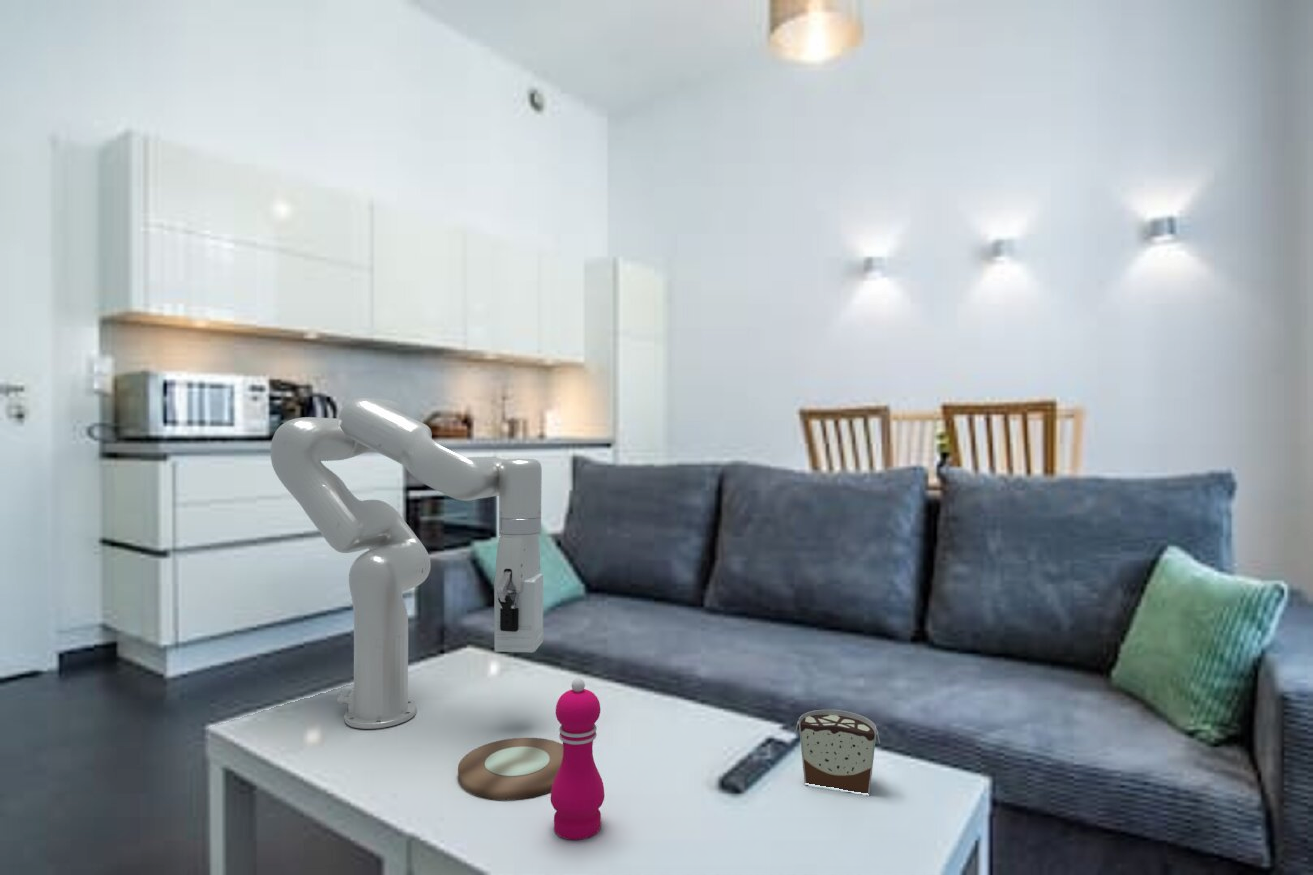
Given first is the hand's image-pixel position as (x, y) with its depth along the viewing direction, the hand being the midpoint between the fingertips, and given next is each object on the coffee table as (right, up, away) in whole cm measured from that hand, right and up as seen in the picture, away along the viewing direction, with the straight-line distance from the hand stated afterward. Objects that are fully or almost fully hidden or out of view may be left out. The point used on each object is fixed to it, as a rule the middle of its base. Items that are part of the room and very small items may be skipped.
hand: (519, 623), depth 128 cm
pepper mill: (+14, -19, -32) cm, 40 cm away
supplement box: (0, -4, 0) cm, 4 cm away
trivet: (+3, -19, -16) cm, 25 cm away
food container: (+53, -19, -19) cm, 59 cm away
